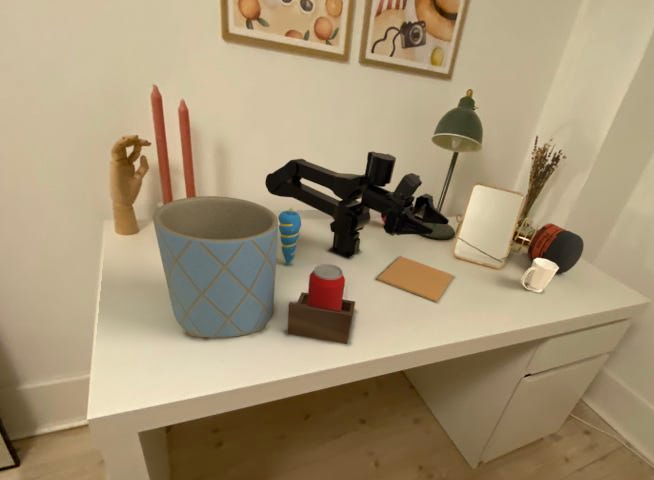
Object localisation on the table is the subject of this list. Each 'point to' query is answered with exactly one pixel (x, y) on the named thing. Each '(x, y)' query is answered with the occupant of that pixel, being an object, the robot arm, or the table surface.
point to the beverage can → (326, 287)
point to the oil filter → (556, 247)
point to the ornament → (289, 233)
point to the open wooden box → (320, 320)
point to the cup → (539, 274)
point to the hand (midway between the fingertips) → (440, 226)
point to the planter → (218, 263)
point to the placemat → (416, 278)
